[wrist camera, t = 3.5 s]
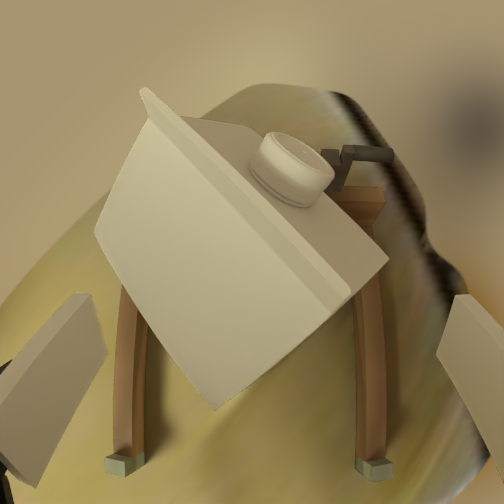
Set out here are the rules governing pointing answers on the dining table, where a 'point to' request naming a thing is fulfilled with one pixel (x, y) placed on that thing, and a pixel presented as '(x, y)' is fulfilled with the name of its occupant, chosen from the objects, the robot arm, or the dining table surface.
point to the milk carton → (229, 245)
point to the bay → (365, 331)
